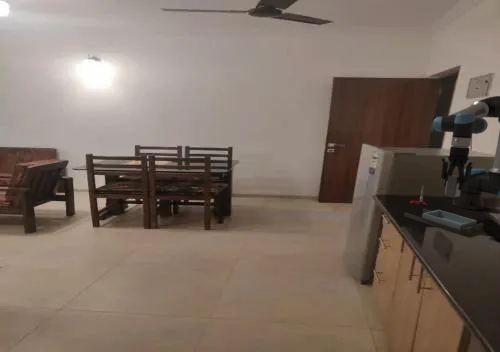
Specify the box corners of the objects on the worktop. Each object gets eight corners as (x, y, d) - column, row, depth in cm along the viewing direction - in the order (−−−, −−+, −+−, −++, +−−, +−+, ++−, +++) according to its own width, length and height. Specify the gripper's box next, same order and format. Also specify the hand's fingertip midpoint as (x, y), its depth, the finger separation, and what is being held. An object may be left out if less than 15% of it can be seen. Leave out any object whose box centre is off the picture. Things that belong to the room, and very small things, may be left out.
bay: (423, 213, 172) (424, 206, 171) (481, 231, 147) (483, 223, 147) (403, 218, 164) (404, 210, 163) (462, 238, 139) (463, 229, 138)
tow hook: (408, 202, 196) (413, 205, 187) (410, 182, 194) (416, 184, 185) (422, 203, 195) (428, 206, 186) (425, 182, 193) (431, 185, 184)
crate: (437, 216, 164) (438, 209, 163) (475, 228, 148) (476, 220, 148) (421, 220, 157) (422, 213, 156) (459, 233, 142) (460, 225, 141)
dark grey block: (449, 194, 153) (453, 174, 151) (458, 196, 149) (461, 176, 147) (445, 195, 151) (448, 175, 149) (453, 197, 147) (457, 177, 145)
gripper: (437, 144, 150) (430, 191, 155) (476, 149, 136) (467, 200, 141) (446, 144, 154) (438, 190, 159) (484, 148, 140) (475, 198, 144)
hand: (452, 194), depth 150 cm, fingers closed on dark grey block, 4 cm apart
